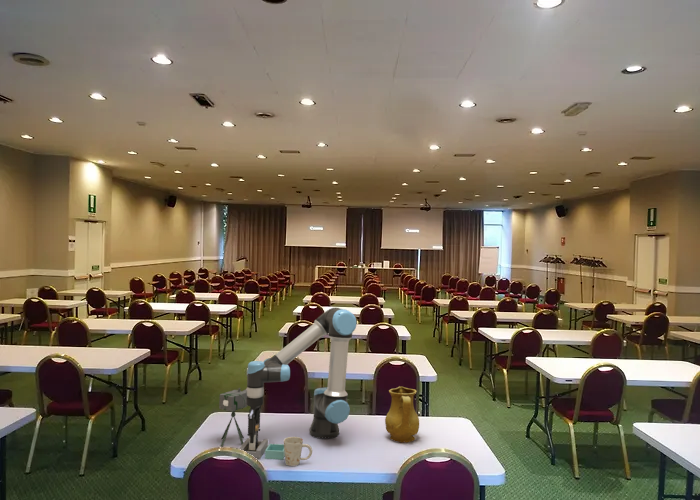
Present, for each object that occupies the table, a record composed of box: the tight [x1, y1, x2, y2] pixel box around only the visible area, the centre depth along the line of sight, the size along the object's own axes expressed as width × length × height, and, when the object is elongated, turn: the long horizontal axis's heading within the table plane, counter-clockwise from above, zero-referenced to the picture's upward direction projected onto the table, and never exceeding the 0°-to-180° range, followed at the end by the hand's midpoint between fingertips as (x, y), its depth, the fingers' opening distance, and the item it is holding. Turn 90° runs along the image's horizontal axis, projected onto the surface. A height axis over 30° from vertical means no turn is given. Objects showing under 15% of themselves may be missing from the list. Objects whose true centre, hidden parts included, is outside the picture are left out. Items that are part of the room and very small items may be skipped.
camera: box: [218, 387, 248, 447], centre depth 233 cm, size 16×16×25 cm
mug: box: [283, 436, 313, 467], centre depth 210 cm, size 8×13×10 cm, turn 95°
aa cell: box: [249, 423, 260, 452], centre depth 220 cm, size 4×4×13 cm
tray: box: [264, 443, 285, 461], centre depth 217 cm, size 8×8×4 cm
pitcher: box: [384, 385, 420, 444], centre depth 242 cm, size 17×19×25 cm
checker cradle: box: [238, 437, 269, 460], centre depth 220 cm, size 10×14×4 cm
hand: (253, 447), depth 220 cm, fingers closed on aa cell, 4 cm apart
